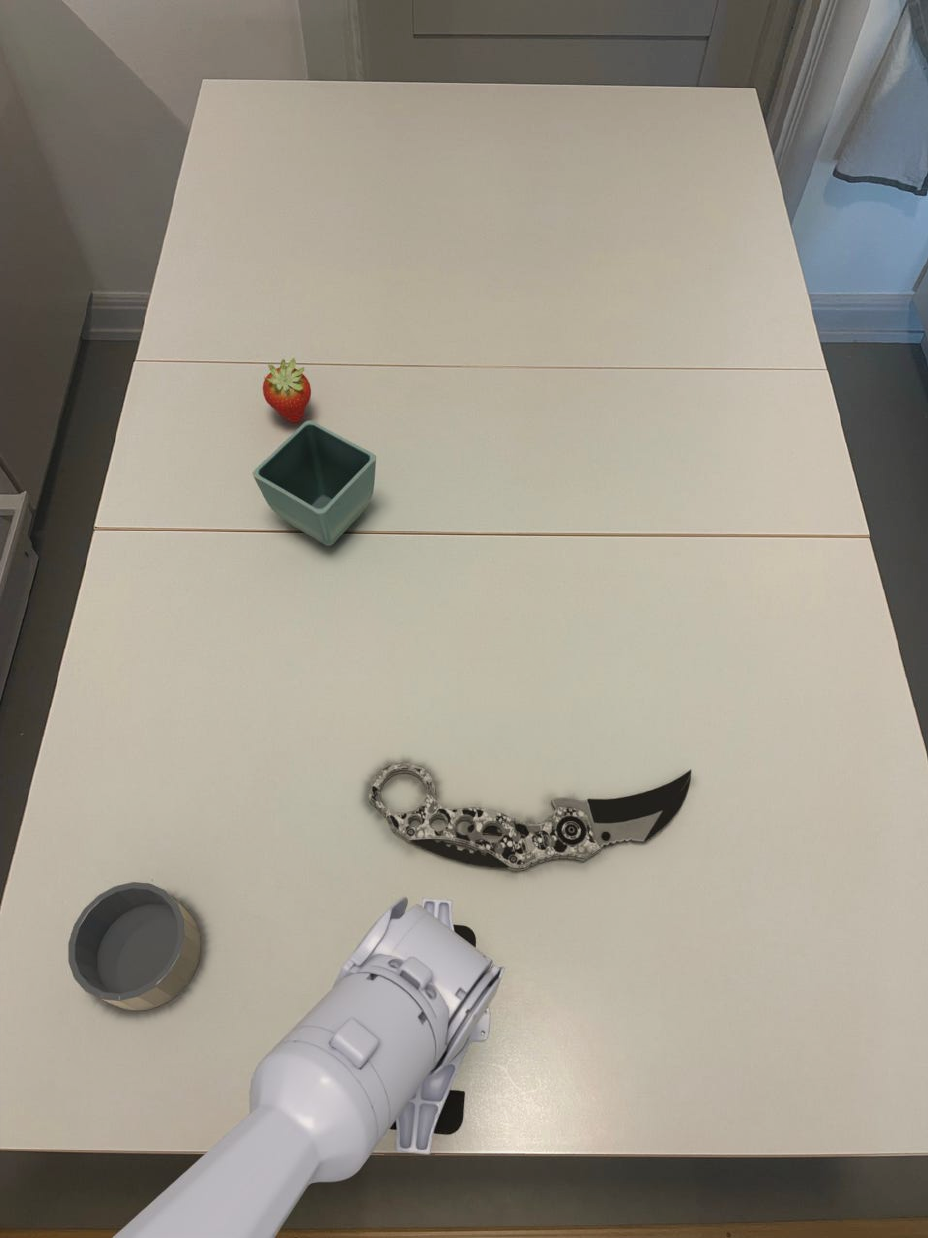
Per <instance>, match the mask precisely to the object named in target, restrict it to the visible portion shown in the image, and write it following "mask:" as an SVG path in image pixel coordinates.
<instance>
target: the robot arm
mask: <svg viewBox="0 0 928 1238" xmlns="http://www.w3.org/2000/svg"><path fill="white" fill-rule="evenodd" d="M408 904H409V899H408V897H407V896H403V897H400V898H399V899H398V900H396V901H395V902H394V903H393V904H392V905H391V906H390V907H389V908H387V910H386V911H385V912H384V913H383V914H382V915H381V916H380V917H379V918H378V919H377V920H376V921H375V922H374V924H373V925H372V926H371V927H370V928H369V930H368V931H367V932H366V933H365V935H364V936H363V938H362V939H361V941H360V942H359V944H358V945H357V946H356V948H355V950H353V952H352V953H351V954H350V956H349V957H348V958H347V959H346V961H345V962H344V964H342V966H341V967H340V968H341V969H340V970H339V972H338V975H337V977H336V979H335V981H334V983H333V985H332V987H331V989H330V990H329V991H328V992H327V993H326V994H325V995H324V996H323V997H321V999H320V1000H319V1001H318V1002H317V1003H316V1004H315V1006H313V1007H312V1008H311V1009H310V1011H308V1012H307V1013H306V1014H305V1016H303V1018H302V1019H300V1021H299V1022H297V1024H296V1025H294V1027H293V1028H292V1029H291V1030H290V1031H289V1032H288V1033H287V1034H285V1036H284V1037H282V1039H281V1040H280V1041H278V1043H277V1044H276V1045H275V1046H274V1047H273V1048H272V1049H271V1050H270V1051H269V1052H268V1053H267V1054H266V1055H265V1056H264V1057H263V1058H262V1059H261V1060H260V1061H259V1062H258V1064H257V1065H256V1067H255V1069H254V1071H253V1073H252V1077H251V1080H250V1088H249V1099H248V1100H249V1103H248V1104H249V1107H248V1108H249V1113H248V1114H247V1115H246V1116H245V1117H244V1118H243V1119H242V1120H241V1121H239V1123H237V1124H236V1125H235V1126H234V1127H233V1128H232V1129H231V1130H230V1131H229V1132H227V1134H226V1135H224V1136H223V1137H222V1138H221V1139H220V1140H218V1142H217V1143H215V1145H213V1146H212V1147H211V1148H210V1149H209V1150H207V1151H206V1152H205V1153H204V1155H202V1156H201V1157H200V1158H199V1159H198V1160H197V1161H195V1162H194V1163H193V1164H192V1165H191V1166H190V1167H188V1169H187V1170H186V1171H184V1172H183V1173H182V1174H181V1175H180V1176H178V1178H177V1179H175V1181H173V1182H172V1183H171V1184H170V1185H169V1186H168V1187H166V1189H164V1190H163V1191H162V1192H161V1193H160V1194H159V1195H158V1196H157V1197H156V1198H155V1199H153V1200H152V1201H151V1202H150V1203H149V1204H148V1205H147V1206H145V1207H144V1208H143V1209H142V1210H141V1211H140V1212H139V1213H138V1214H137V1215H136V1216H135V1217H133V1218H132V1219H131V1220H130V1221H129V1222H128V1223H127V1224H125V1226H124V1227H122V1228H121V1229H120V1230H119V1231H118V1232H117V1233H116V1234H115V1235H114V1236H113V1237H112V1238H276V1236H277V1235H278V1233H279V1232H280V1230H281V1229H282V1227H283V1225H284V1224H285V1223H286V1220H287V1219H288V1218H289V1216H290V1214H291V1213H292V1211H293V1210H294V1208H295V1207H296V1205H297V1204H298V1202H299V1201H300V1199H301V1198H302V1196H303V1195H304V1193H305V1191H306V1190H307V1188H308V1187H309V1186H310V1185H311V1184H314V1183H315V1184H316V1183H336V1182H341V1181H345V1180H347V1179H350V1178H351V1177H353V1176H354V1175H356V1174H357V1173H358V1172H359V1171H360V1170H361V1169H362V1167H363V1166H364V1164H365V1163H366V1162H367V1160H368V1159H369V1158H370V1156H371V1155H372V1153H373V1152H374V1151H375V1150H376V1148H377V1147H378V1146H379V1144H380V1143H381V1141H382V1140H383V1138H384V1137H385V1136H386V1135H387V1133H388V1132H389V1130H392V1131H396V1145H395V1151H396V1152H398V1153H407V1154H419V1155H428V1156H429V1155H431V1153H432V1142H433V1137H434V1135H442V1136H443V1135H445V1136H449V1135H453V1134H455V1133H457V1131H458V1130H460V1129H461V1126H463V1125H462V1124H463V1121H464V1113H465V1100H466V1099H465V1098H466V1092H465V1090H460V1089H459V1090H458V1089H452V1086H453V1084H454V1082H455V1079H456V1078H457V1074H458V1072H459V1070H460V1068H461V1065H462V1062H463V1060H464V1057H465V1055H466V1053H467V1052H468V1051H467V1050H468V1048H469V1046H470V1045H471V1044H472V1043H475V1042H476V1043H483V1042H486V1041H487V1040H488V1039H489V1037H490V1036H489V1035H490V1031H491V1019H492V1018H491V1017H492V1014H491V1013H492V1012H491V1008H489V1006H490V1004H491V1002H492V1001H493V999H494V997H495V996H496V994H497V992H498V989H499V986H500V983H501V980H502V978H503V975H504V972H505V969H506V967H505V966H497V965H496V964H493V959H491V958H490V957H489V956H487V955H486V954H485V953H483V952H482V951H480V950H479V949H478V948H477V937H476V934H475V932H474V930H473V929H472V928H471V927H469V926H467V925H465V924H464V925H463V924H454V922H453V920H454V919H453V900H451V899H445V898H444V899H443V898H433V897H422V899H421V904H419V903H418V904H417V903H416V904H414V905H413V906H411V907H410V908H408V909H407V907H408ZM482 1033H483V1034H482Z"/></svg>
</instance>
